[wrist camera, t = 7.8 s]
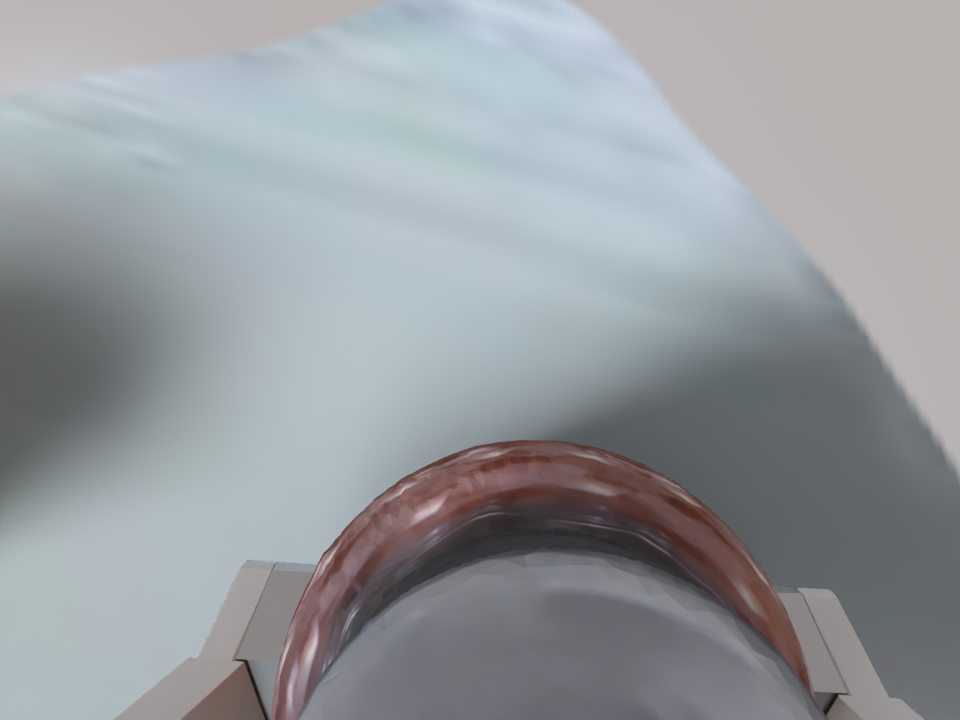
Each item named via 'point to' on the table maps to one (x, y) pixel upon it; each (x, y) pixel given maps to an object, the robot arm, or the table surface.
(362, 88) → the table surface
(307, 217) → the table surface
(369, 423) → the table surface
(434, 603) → the supplement bottle
